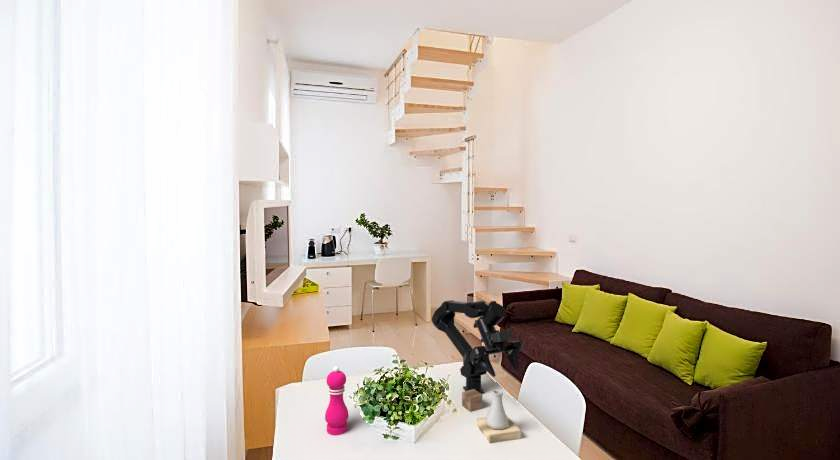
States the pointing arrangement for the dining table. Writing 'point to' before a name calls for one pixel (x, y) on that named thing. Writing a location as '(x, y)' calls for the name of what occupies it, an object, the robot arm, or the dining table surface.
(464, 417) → the dining table surface
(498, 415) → the flask
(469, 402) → the walnut cube
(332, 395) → the pepper mill
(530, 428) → the dining table surface
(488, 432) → the oak block
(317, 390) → the dining table surface
